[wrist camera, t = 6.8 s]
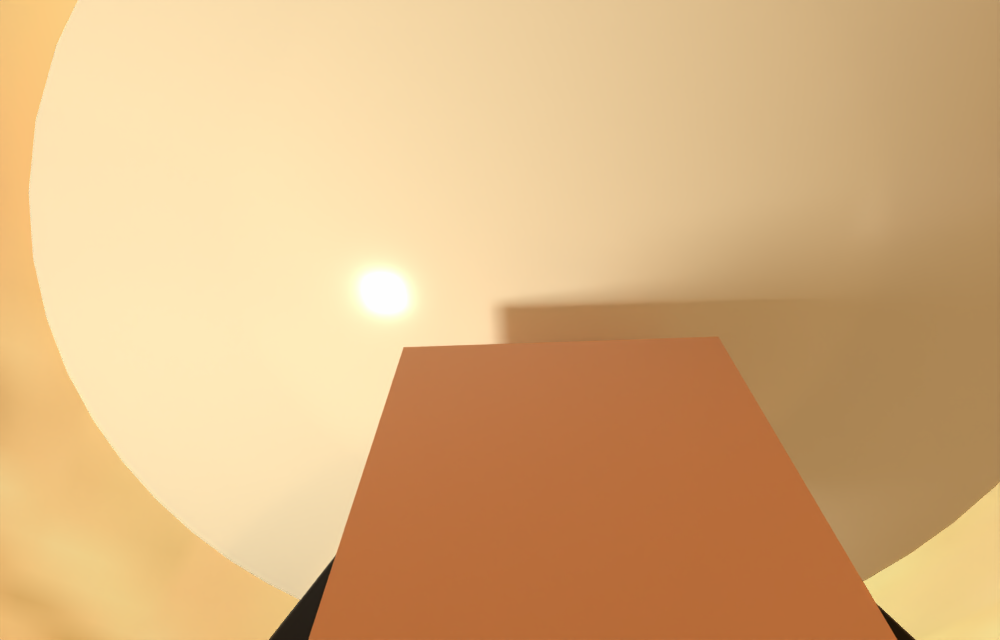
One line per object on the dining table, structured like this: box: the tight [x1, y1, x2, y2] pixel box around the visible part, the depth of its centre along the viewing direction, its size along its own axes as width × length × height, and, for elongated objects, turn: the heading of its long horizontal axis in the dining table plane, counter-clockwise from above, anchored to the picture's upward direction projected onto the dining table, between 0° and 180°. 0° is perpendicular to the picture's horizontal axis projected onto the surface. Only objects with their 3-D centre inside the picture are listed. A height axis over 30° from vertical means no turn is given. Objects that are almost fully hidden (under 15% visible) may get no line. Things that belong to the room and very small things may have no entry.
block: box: [308, 337, 897, 640], centre depth 8 cm, size 5×5×5 cm
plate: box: [29, 0, 1000, 600], centre depth 11 cm, size 20×20×1 cm
